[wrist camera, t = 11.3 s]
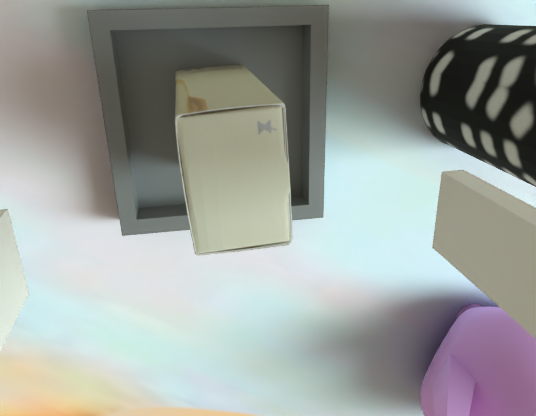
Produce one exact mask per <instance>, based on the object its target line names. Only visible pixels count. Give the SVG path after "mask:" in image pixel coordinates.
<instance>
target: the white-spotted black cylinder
mask: <svg viewBox="0 0 536 416" xmlns="http://www.w3.org/2000/svg"><path fill="white" fill-rule="evenodd" d="M420 97H421V110H422V114H423V118H424V120H425V122H426V124H427V127H428V128H429V129H430V131H431V132H432V133H433V135H434V136H436V137H437V138H438V139H439V140H441V141H442V142H444V143H446V144H448V145H450V146H452V147H454V148H456V149H458V150H461V151H463V152H465V153H467V154H469V155H471V156H473V157H475V158H477V159H479V160H481V161H483V162H485V163H488V164H490V165H492V166H494V167H496V168H498V169H500V170H502V171H504V172H506V173H508V174H510V175H512V176H515V177H517V178H519V179H521V180H523V181H525V182H527V183H529V184H531V185H533V186H535V187H536V26H513V25H480V26H474V27H471V28H468V29H466V30H464V31H461V32H460V33H458V34H457V35H455V36H454V37H452V38H450V39H449V40H448V41H447V42H446V43H445V44H444V45H443V46H442V47H441V48H440V49H439V51H438V52H437V53H436V54H435V56H434V57H433V58H432V60H431V62H430V64H429V66H428V68H427V70H426V73H425V76H424V79H423V82H422V88H421V94H420Z"/></svg>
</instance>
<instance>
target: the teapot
mask: <svg viewBox="0 0 536 416" xmlns="http://www.w3.org/2000/svg"><path fill="white" fill-rule="evenodd" d="M420 399H421V406H422V411H423V413H424V415H425V416H536V339H535V338H534V337H533V336H532V335H531V334H530V333H528V332H527V331H526V330H525V329H524V328H523V327H522V326H521V325H519V324H518V323H517V322H516V321H515V320H514V319H513V318H511V317H510V316H509V315H508V314H507V313H506V312H505V311H504V310H502V309H501V308H500V307H491V306H487V307H482V306H481V305H479V304H476V303H472V304H468V305H466V306H465V307H463V308H462V309H461V310H460V311H459V313H458V315H457V318H456V321H455V322H454V324H453V325H452V327H451V328H450V330H449V331H448V333H447V335H446V336H445V338H444V340H443V341H442V343H441V345H440V346H439V348H438V350H437V352H436V354H435V356H434V358H433V359H432V361H431V363H430V366H429V368H428V370H427V372H426V374H425V376H424V379H423V381H422V384H421V388H420Z"/></svg>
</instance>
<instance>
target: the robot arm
mask: <svg viewBox="0 0 536 416" xmlns="http://www.w3.org/2000/svg"><path fill="white" fill-rule="evenodd" d="M432 248H434V249H435V250H436V251H437V252H438V253H439V254H440V255H441V256H443V257H444V258H445V259H446V260H447V261H448V262H449V263H450V264H452V265H453V266H454V267H455V268H456V269H457V270H458V271H460V272H461V273H462V274H463V275H464V276H465V277H466V278H467V279H469V280H470V281H471V282H472V283H473V284H474V285H475V286H476V287H478V288H479V289H480V290H481V291H482V292H483V293H484V294H486V295H487V296H488V297H489V298H490V299H491V300H492V301H493V302H495V303H496V304H497V305H498V306H499V307H500V308H501V309H502V310H504V311H505V312H506V313H507V314H508V315H509V316H510V317H511V318H513V319H514V320H515V321H516V322H517V323H518V324H519V325H521V326H522V327H523V328H524V329H525V330H526V331H527V332H528V333H530V334H531V335H532V336H533V337H534V338H535V339H536V208H535V207H533V206H531V205H529V204H527V203H525V202H523V201H521V200H520V199H518V198H516V197H514V196H512V195H510V194H508V193H506V192H504V191H502V190H501V189H499V188H497V187H495V186H493V185H491V184H489V183H487V182H485V181H484V180H482V179H480V178H478V177H476V176H474V175H472V174H470V173H468V172H466V171H465V170H457V171H445V172H442V175H441V183H440V191H439V199H438V207H437V215H436V223H435V231H434V239H433V247H432ZM28 295H29V291H28V287H27V283H26V279H25V275H24V271H23V267H22V263H21V259H20V255H19V251H18V247H17V243H16V239H15V235H14V231H13V227H12V223H11V220H10V216H9V212H8V209H4V210H0V350H1V348H2V347H3V345H4V343H5V341H6V339H7V337H8V335H9V333H10V331H11V329H12V327H13V325H14V323H15V321H16V319H17V317H18V315H19V313H20V311H21V309H22V307H23V305H24V303H25V301H26V299H27V297H28Z"/></svg>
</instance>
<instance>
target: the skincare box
mask: <svg viewBox="0 0 536 416" xmlns="http://www.w3.org/2000/svg"><path fill="white" fill-rule="evenodd" d="M175 81H176V106H175V130H176V141H177V151H178V159H179V166H180V173H181V180H182V186H183V192H184V198H185V204H186V209H187V215H188V220H189V225H190V231H191V236H192V240H193V245H194V250H195V254H196V255H207V254H217V253H226V252H236V251H245V250H252V249H261V248H269V247H276V246H284V245H288V244H290V243H291V241H292V239H293V235H292V212H291V191H290V173H289V158H288V141H287V125H286V108H285V104H284V103H283V102H282V101H281V100H280V99H279V98H278V97H277V96H275V95H274V94H273V93H272V92H271V91H270V90H269V89H268V88H267V87H266V86H265V85H264V84H263V83H262V82H261V81H260V80H259V79H258V78H257V77H256V76H254V75H253V74H252V73H251V72H250V71H249V70H248V69H247V68H246V67H245V66H244V65H230V66H215V67H203V68H194V69H186V70H179V71H176V76H175Z"/></svg>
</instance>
